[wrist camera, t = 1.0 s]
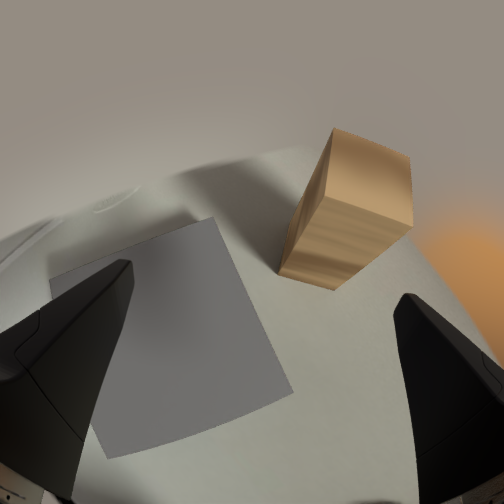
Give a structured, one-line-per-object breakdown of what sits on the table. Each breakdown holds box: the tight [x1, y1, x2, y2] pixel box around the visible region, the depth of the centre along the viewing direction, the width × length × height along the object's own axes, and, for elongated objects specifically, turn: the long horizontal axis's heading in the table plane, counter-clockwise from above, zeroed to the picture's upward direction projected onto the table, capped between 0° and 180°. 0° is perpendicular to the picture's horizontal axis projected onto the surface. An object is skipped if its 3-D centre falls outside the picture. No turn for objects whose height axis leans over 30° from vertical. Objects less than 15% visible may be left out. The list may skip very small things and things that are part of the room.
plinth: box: [49, 217, 294, 459], centre depth 20 cm, size 14×14×3 cm
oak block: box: [278, 128, 413, 290], centre depth 20 cm, size 5×5×12 cm
